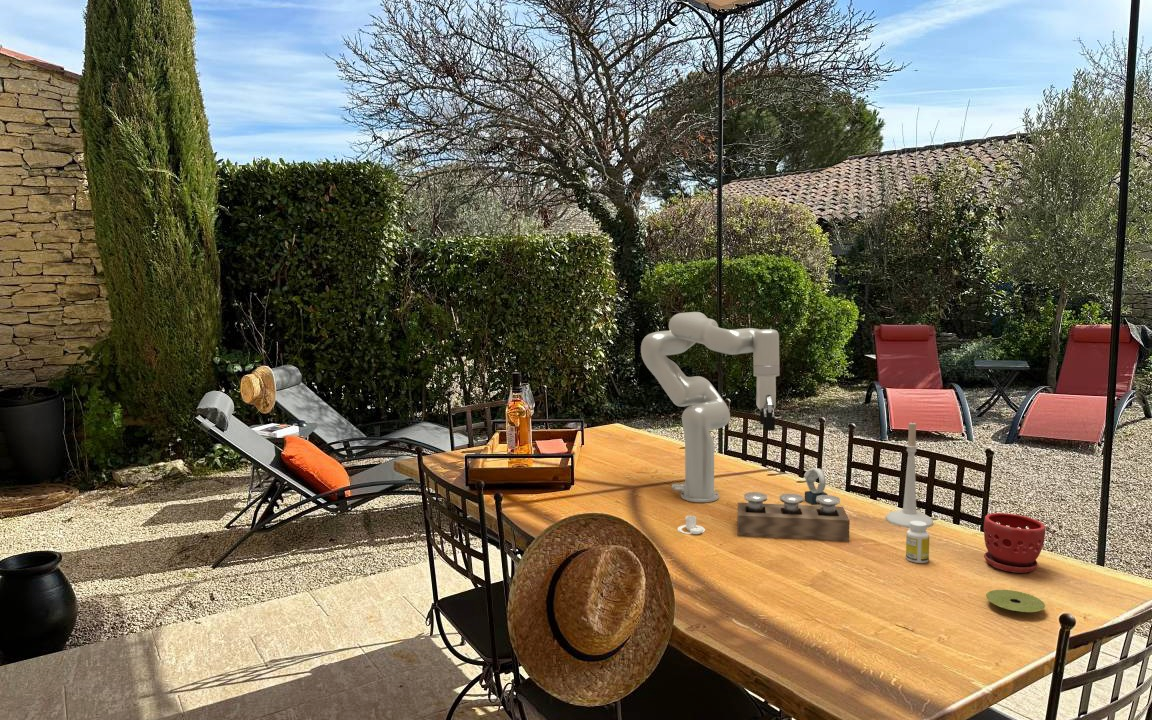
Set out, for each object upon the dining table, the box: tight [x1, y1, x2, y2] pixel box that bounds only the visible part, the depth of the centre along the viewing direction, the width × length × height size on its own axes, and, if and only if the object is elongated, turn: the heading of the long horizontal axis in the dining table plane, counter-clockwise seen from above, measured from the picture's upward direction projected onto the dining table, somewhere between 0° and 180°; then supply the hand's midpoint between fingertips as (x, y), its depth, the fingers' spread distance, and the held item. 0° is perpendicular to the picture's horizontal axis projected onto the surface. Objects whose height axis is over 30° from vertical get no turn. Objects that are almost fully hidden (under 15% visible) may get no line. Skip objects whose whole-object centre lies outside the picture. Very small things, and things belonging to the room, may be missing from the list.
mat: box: [985, 589, 1046, 613], centre depth 164 cm, size 11×11×2 cm
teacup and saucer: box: [677, 515, 706, 535], centre depth 217 cm, size 9×8×4 cm
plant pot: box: [983, 512, 1046, 574], centre depth 186 cm, size 13×13×12 cm
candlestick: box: [885, 421, 934, 529], centre depth 219 cm, size 13×13×30 cm
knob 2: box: [816, 494, 841, 516], centre depth 211 cm, size 6×6×5 cm
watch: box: [803, 467, 828, 506], centre depth 240 cm, size 6×8×11 cm
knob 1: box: [743, 491, 768, 513], centre depth 215 cm, size 6×6×5 cm
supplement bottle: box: [905, 521, 930, 564], centre depth 191 cm, size 5×5×10 cm
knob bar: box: [736, 502, 851, 542], centre depth 214 cm, size 30×12×6 cm, turn 79°
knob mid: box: [779, 493, 804, 514], centre depth 213 cm, size 6×6×5 cm
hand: (767, 427), depth 224 cm, fingers open, 9 cm apart
